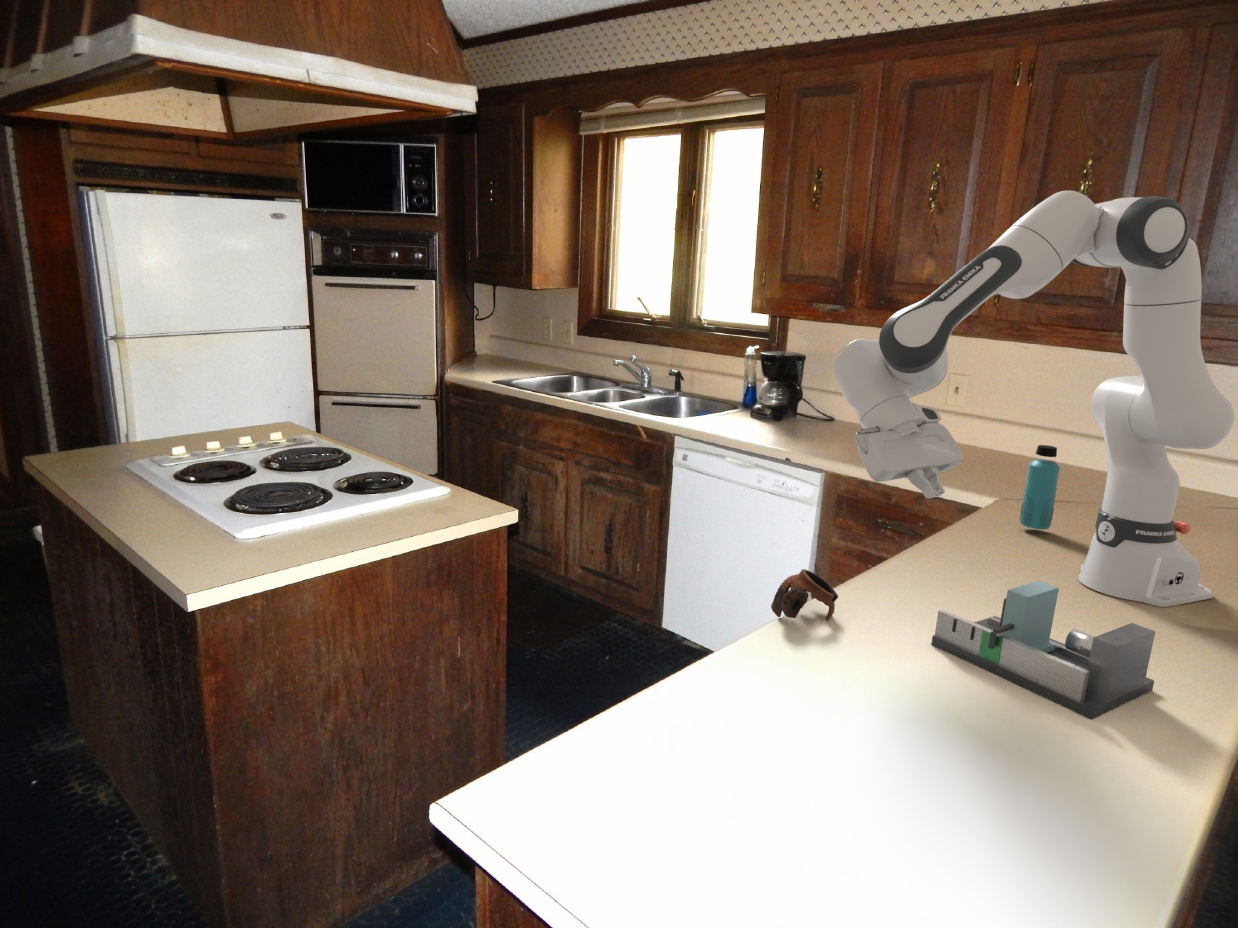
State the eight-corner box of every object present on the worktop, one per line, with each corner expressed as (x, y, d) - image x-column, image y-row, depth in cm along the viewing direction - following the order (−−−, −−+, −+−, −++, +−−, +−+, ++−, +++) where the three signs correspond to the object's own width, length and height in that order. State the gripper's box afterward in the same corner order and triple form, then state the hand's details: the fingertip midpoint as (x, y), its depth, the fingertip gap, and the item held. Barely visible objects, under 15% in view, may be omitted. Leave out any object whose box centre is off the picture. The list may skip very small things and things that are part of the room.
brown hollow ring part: (775, 600, 138) (804, 562, 136) (819, 637, 134) (850, 599, 132) (753, 605, 127) (784, 565, 126) (800, 646, 123) (833, 605, 122)
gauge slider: (972, 653, 116) (981, 592, 114) (1022, 636, 123) (1032, 578, 120) (1004, 668, 112) (1015, 605, 110) (1054, 649, 119) (1065, 589, 116)
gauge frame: (931, 644, 122) (939, 586, 120) (993, 624, 131) (1002, 569, 129) (1091, 719, 103) (1105, 651, 101) (1152, 690, 111) (1166, 626, 109)
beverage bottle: (1053, 537, 180) (1069, 450, 175) (1021, 534, 181) (1036, 447, 176) (1044, 528, 186) (1059, 444, 181) (1013, 525, 187) (1027, 441, 183)
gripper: (862, 418, 127) (907, 493, 121) (943, 410, 137) (988, 478, 132) (838, 441, 131) (880, 514, 126) (918, 431, 142) (960, 498, 136)
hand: (936, 495), depth 129 cm, fingers closed
